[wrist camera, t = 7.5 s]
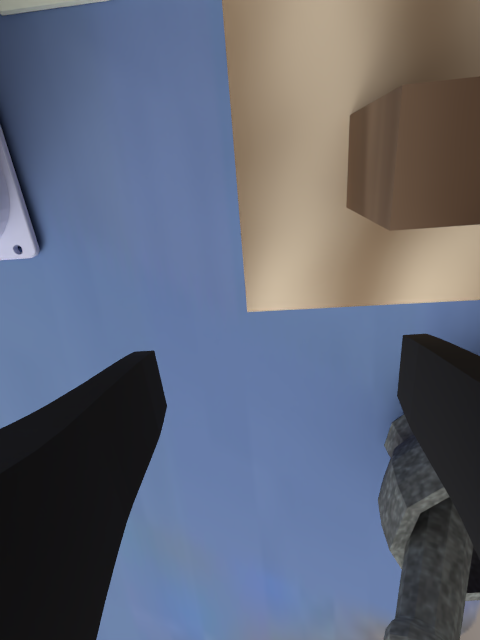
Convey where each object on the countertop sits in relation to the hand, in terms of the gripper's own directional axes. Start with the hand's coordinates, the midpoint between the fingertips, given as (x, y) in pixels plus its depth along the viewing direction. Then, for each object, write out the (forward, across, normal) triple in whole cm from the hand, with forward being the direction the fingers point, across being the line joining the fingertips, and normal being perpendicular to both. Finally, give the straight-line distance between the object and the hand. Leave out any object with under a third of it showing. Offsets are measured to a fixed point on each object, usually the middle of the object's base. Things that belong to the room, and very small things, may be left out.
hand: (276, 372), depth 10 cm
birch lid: (+6, -4, -5) cm, 9 cm away
